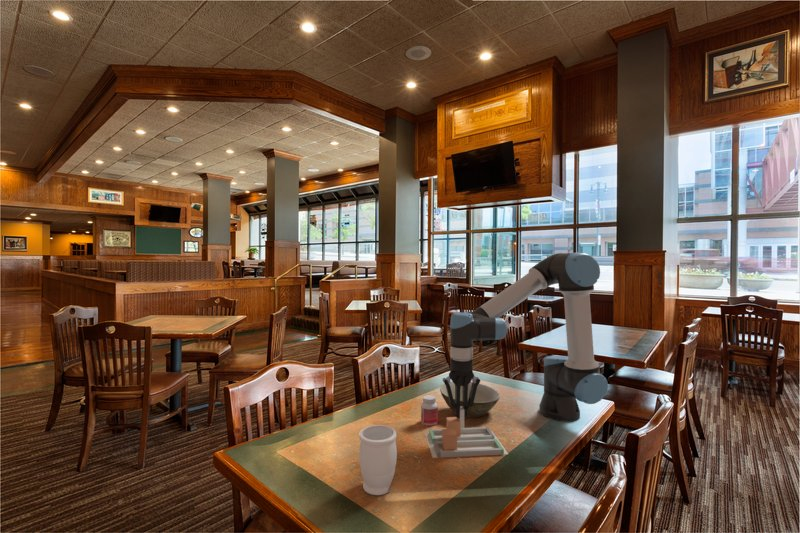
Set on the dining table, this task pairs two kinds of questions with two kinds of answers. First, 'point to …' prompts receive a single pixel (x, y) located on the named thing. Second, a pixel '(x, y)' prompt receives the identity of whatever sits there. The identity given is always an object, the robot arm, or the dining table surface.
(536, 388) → the dining table surface
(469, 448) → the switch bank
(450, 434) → the tab
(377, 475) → the jar
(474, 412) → the bowl
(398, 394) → the dining table surface
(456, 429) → the tab
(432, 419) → the pill bottle
